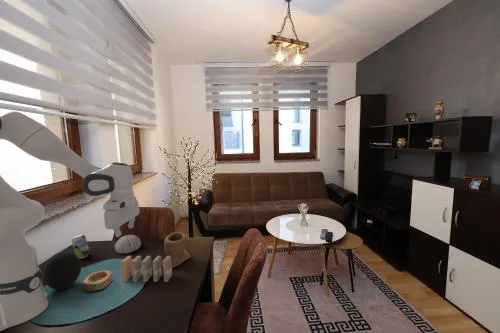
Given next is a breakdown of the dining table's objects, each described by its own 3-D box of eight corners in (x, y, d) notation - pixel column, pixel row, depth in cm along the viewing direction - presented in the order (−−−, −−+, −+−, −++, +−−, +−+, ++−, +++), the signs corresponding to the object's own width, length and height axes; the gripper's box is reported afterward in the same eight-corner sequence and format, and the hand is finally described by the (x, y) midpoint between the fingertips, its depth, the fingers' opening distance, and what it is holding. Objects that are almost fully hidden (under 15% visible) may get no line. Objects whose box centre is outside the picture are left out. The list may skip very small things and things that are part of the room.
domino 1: (123, 281, 104) (121, 261, 103) (129, 274, 109) (127, 255, 108) (126, 281, 104) (125, 261, 103) (132, 274, 109) (131, 255, 108)
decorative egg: (52, 282, 104) (48, 249, 102) (86, 276, 108) (83, 244, 107) (39, 299, 93) (35, 262, 91) (77, 292, 97) (74, 256, 95)
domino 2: (133, 281, 104) (131, 261, 103) (138, 274, 109) (137, 255, 108) (136, 281, 104) (135, 261, 103) (142, 274, 109) (141, 255, 108)
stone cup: (173, 273, 110) (171, 241, 108) (156, 266, 116) (154, 236, 115) (197, 259, 123) (196, 230, 121) (181, 253, 129) (179, 226, 127)
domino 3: (143, 281, 104) (142, 261, 103) (148, 275, 109) (147, 255, 108) (147, 281, 104) (145, 261, 103) (152, 275, 109) (151, 255, 108)
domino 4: (153, 281, 104) (152, 261, 103) (158, 275, 109) (157, 255, 108) (157, 281, 104) (156, 261, 103) (162, 275, 108) (160, 255, 108)
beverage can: (88, 258, 125) (86, 236, 124) (71, 261, 123) (69, 238, 121) (91, 253, 131) (89, 231, 130) (75, 255, 128) (73, 234, 127)
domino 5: (164, 281, 103) (163, 261, 102) (168, 275, 108) (167, 255, 107) (167, 281, 103) (166, 261, 102) (172, 275, 108) (170, 255, 107)
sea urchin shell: (146, 245, 141) (145, 231, 140) (131, 256, 127) (130, 241, 126) (125, 244, 143) (124, 230, 142) (109, 254, 129) (107, 240, 128)
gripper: (128, 194, 113) (130, 223, 115) (99, 206, 93) (102, 241, 95) (142, 194, 113) (143, 223, 115) (115, 206, 93) (118, 241, 94)
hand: (125, 231), depth 104 cm, fingers open, 8 cm apart
